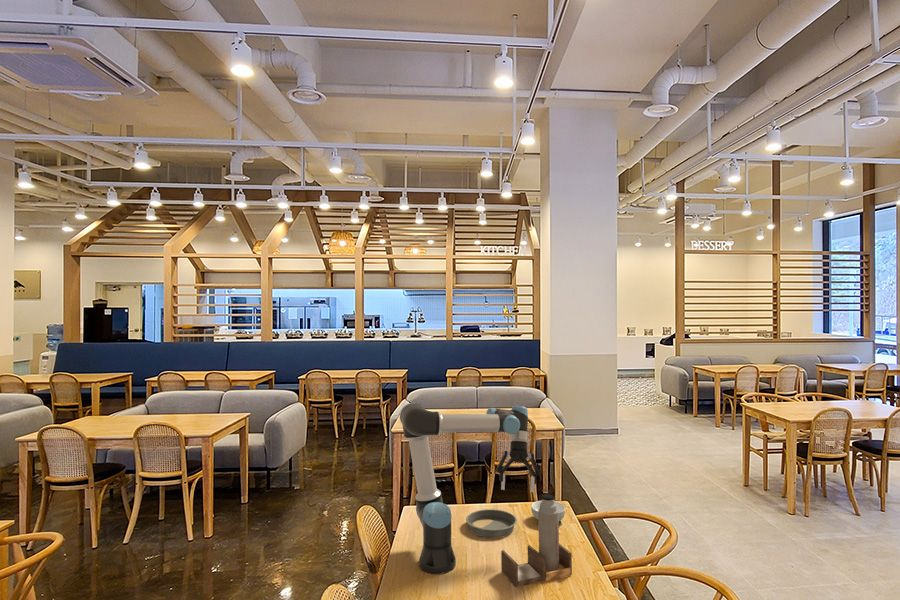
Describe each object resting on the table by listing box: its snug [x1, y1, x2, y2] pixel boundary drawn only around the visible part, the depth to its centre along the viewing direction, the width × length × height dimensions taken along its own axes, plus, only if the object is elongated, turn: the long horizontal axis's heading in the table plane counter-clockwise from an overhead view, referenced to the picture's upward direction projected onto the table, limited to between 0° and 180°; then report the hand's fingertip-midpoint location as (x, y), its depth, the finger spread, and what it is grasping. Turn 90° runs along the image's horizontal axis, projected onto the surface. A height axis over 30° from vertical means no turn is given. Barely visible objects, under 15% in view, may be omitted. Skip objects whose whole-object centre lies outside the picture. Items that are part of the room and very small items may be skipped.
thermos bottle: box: [537, 493, 560, 571], centre depth 200 cm, size 8×8×28 cm
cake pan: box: [465, 508, 518, 539], centre depth 240 cm, size 25×25×4 cm
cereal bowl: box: [530, 500, 566, 522], centre depth 247 cm, size 17×17×7 cm
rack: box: [500, 543, 573, 588], centre depth 197 cm, size 25×13×8 cm, turn 111°
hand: (517, 491), depth 217 cm, fingers open, 13 cm apart
